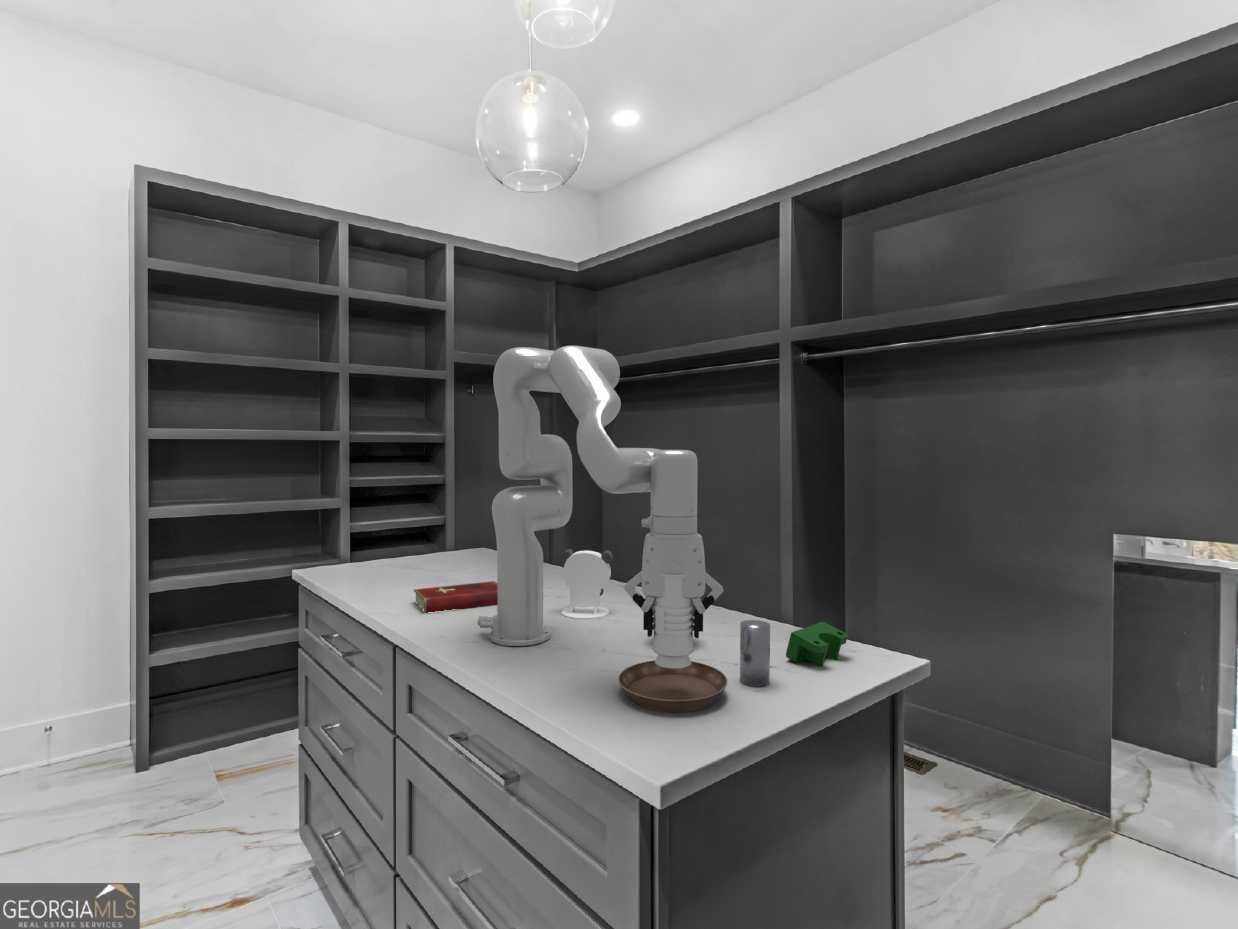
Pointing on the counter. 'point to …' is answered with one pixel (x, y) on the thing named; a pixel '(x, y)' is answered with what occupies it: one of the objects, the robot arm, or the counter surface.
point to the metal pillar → (754, 653)
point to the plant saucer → (673, 686)
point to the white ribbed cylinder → (673, 625)
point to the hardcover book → (457, 596)
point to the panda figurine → (586, 582)
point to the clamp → (815, 643)
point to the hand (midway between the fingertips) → (673, 634)
